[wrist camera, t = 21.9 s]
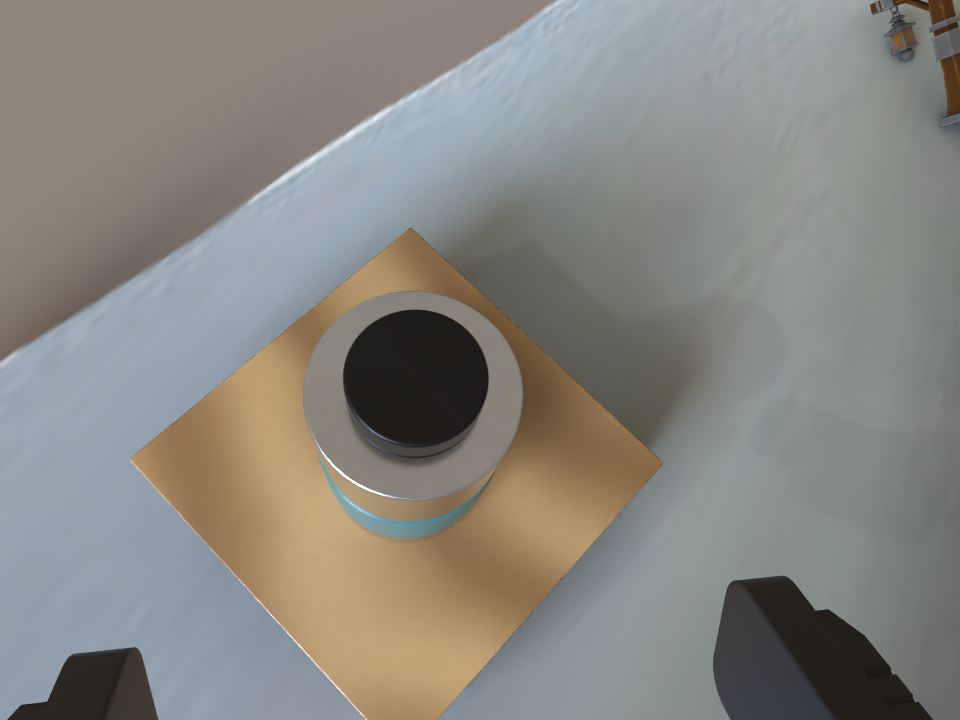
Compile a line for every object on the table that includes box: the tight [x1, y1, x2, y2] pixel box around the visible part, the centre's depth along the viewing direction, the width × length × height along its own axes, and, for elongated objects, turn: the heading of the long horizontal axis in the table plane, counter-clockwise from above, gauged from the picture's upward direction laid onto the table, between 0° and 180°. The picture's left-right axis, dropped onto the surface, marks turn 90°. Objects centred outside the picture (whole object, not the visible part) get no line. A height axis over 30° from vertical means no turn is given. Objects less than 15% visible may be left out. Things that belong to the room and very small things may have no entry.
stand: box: [130, 228, 663, 720], centre depth 26 cm, size 12×12×5 cm
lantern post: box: [870, 0, 960, 127], centre depth 37 cm, size 2×8×4 cm, turn 27°
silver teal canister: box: [303, 291, 524, 543], centre depth 19 cm, size 5×5×9 cm
